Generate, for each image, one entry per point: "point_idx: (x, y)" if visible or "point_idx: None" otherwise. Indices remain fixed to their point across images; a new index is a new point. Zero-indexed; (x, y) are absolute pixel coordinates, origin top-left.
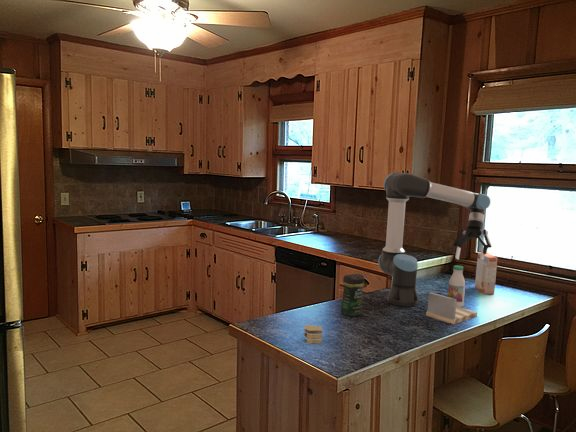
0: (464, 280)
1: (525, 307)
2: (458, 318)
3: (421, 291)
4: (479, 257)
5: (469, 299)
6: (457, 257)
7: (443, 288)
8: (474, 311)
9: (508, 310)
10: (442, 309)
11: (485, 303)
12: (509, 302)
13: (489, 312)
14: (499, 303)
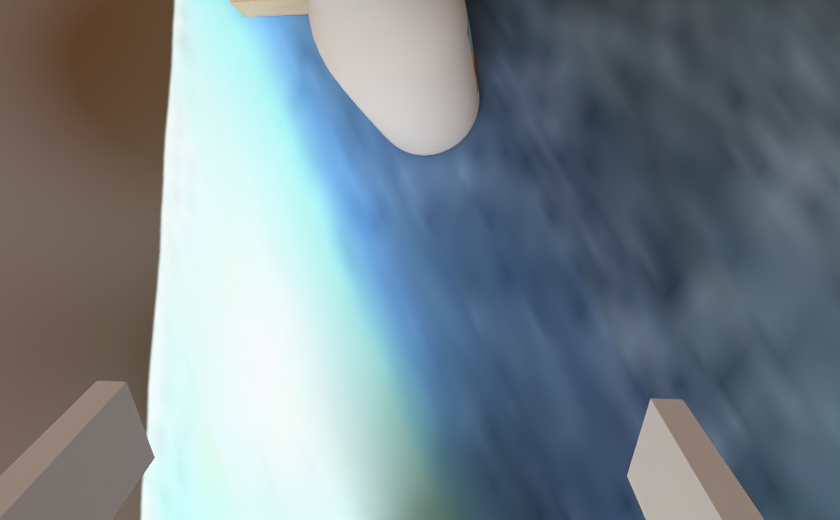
0: (312, 31)
1: None
2: None
3: (800, 216)
4: None
5: (433, 328)
6: (651, 451)
7: None
8: (246, 2)
9: (183, 296)
10: None
11: (325, 326)
12: (241, 484)
13: (233, 157)
14: (270, 404)
